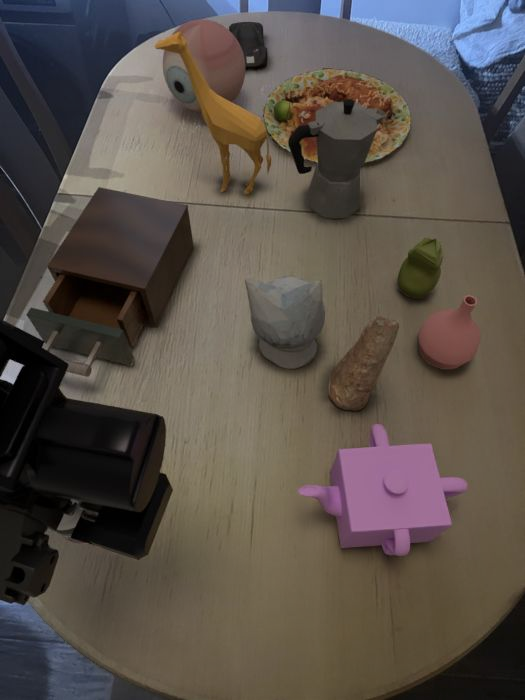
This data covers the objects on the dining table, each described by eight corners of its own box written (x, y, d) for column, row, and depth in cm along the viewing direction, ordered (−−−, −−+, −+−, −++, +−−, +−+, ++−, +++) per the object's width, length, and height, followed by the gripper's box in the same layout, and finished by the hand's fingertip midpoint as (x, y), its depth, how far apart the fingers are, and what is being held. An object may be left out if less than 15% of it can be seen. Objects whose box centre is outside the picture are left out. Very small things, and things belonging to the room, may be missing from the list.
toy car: (233, 71, 107) (232, 50, 103) (228, 33, 115) (227, 12, 111) (268, 70, 107) (268, 48, 104) (261, 32, 115) (261, 11, 111)
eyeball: (153, 114, 99) (138, 32, 86) (196, 76, 106) (188, -6, 93) (220, 139, 95) (214, 57, 82) (260, 97, 102) (260, 16, 89)
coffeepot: (356, 174, 90) (376, 73, 75) (381, 210, 86) (407, 110, 70) (274, 195, 88) (277, 94, 72) (295, 233, 83) (303, 134, 68)
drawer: (115, 397, 66) (102, 371, 60) (27, 374, 68) (5, 346, 62) (170, 283, 76) (163, 251, 70) (92, 265, 78) (78, 232, 72)
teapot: (299, 573, 56) (306, 555, 47) (287, 451, 63) (291, 417, 55) (461, 561, 57) (497, 542, 48) (431, 442, 64) (457, 407, 56)
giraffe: (173, 188, 88) (146, 35, 67) (181, 171, 91) (157, 18, 69) (268, 201, 87) (270, 49, 65) (272, 184, 89) (277, 31, 68)
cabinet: (156, 327, 73) (145, 288, 66) (67, 306, 75) (46, 266, 67) (194, 247, 81) (187, 205, 74) (113, 230, 83) (98, 186, 75)
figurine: (328, 328, 73) (343, 256, 60) (307, 380, 69) (318, 314, 56) (264, 307, 75) (265, 233, 62) (239, 356, 71) (235, 287, 58)
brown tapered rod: (341, 420, 66) (379, 400, 68) (387, 365, 50) (435, 341, 52) (316, 380, 68) (353, 361, 70) (352, 314, 52) (399, 292, 54)
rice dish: (368, 195, 89) (375, 169, 84) (234, 135, 96) (234, 109, 91) (429, 112, 102) (438, 85, 97) (307, 64, 108) (310, 37, 103)
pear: (437, 287, 77) (459, 240, 69) (421, 311, 75) (442, 265, 66) (403, 271, 79) (420, 223, 70) (387, 293, 76) (403, 246, 68)
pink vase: (401, 339, 72) (425, 285, 62) (448, 323, 74) (479, 268, 63) (430, 385, 68) (460, 335, 58) (479, 367, 70) (517, 316, 60)
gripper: (-202, 531, 31) (-65, 572, 44) (83, 629, 28) (137, 641, 42) (-87, 374, 37) (4, 453, 50) (159, 445, 34) (186, 507, 47)
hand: (77, 511), depth 47 cm, fingers closed on pill bottle, 5 cm apart
